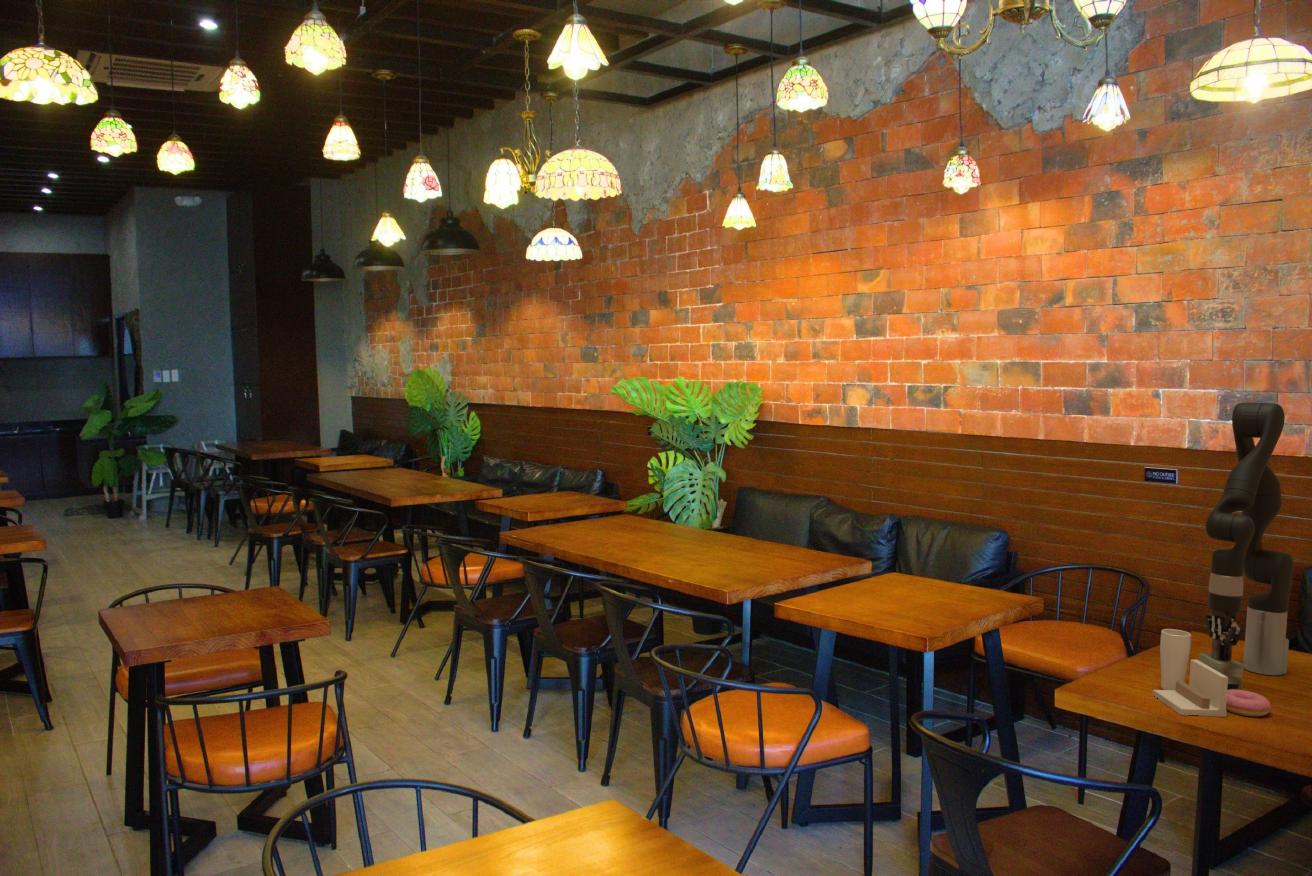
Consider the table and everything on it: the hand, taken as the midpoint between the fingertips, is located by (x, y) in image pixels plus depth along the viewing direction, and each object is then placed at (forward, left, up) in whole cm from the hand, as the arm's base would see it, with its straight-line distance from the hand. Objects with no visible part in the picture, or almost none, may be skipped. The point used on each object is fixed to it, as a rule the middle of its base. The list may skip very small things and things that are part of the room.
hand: (1221, 657), depth 245 cm
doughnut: (+2, +14, -9) cm, 17 cm away
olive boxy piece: (0, 0, -8) cm, 8 cm away
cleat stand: (+14, +13, -8) cm, 20 cm away
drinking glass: (+12, +1, -9) cm, 15 cm away
